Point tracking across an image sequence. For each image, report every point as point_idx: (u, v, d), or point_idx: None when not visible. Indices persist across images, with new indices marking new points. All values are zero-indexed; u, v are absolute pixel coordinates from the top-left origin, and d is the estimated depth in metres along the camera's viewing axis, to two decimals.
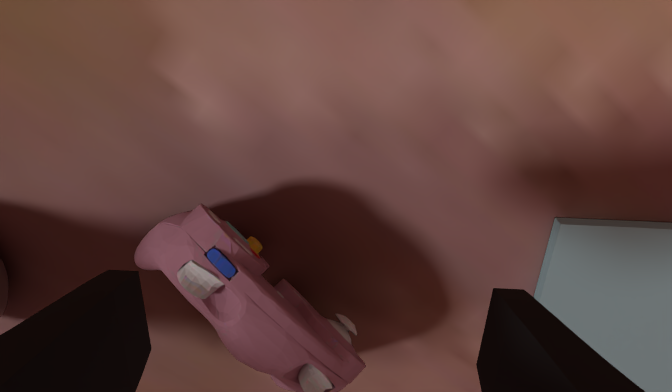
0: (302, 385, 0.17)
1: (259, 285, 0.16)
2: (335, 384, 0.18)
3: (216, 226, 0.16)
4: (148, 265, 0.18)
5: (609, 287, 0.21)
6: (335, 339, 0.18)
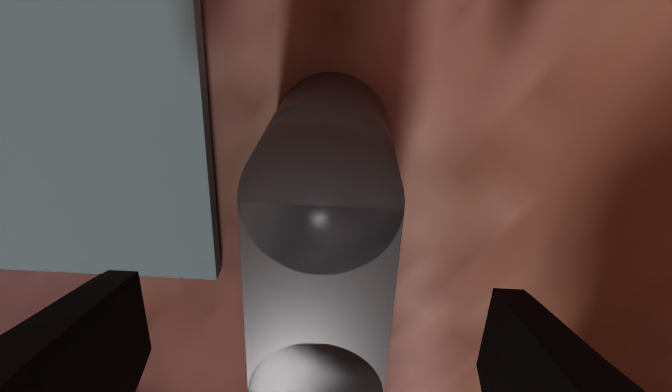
0: None
1: None
2: None
3: None
4: None
5: None
6: None
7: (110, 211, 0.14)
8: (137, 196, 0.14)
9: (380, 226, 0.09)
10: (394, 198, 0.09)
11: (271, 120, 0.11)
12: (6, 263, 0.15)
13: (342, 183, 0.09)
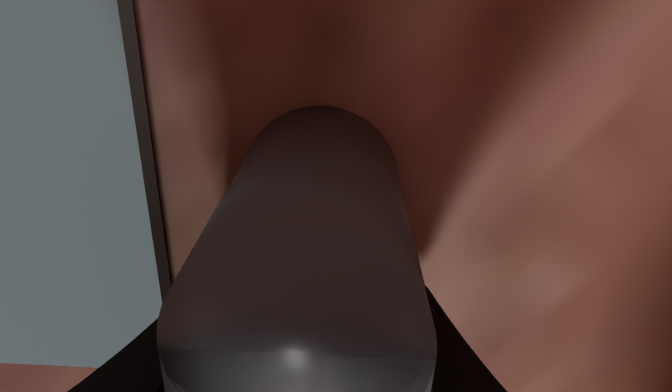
0: None
1: None
2: None
3: None
4: None
5: None
6: None
7: (25, 288, 0.11)
8: (60, 270, 0.10)
9: (395, 383, 0.06)
10: (420, 344, 0.05)
11: (227, 188, 0.07)
12: None
13: (332, 322, 0.05)
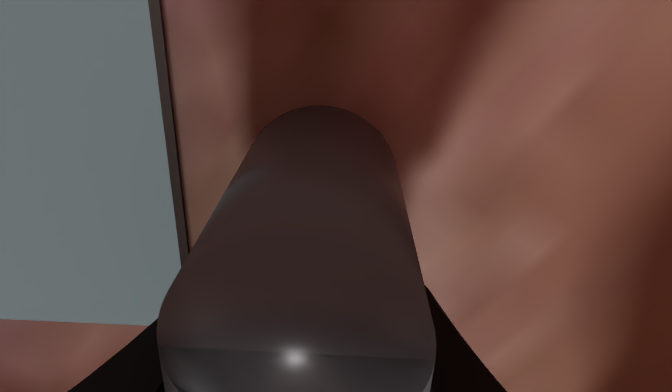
0: None
1: None
2: None
3: None
4: None
5: None
6: None
7: (59, 251, 0.12)
8: (90, 233, 0.12)
9: (395, 382, 0.06)
10: (419, 343, 0.05)
11: (227, 188, 0.07)
12: None
13: (331, 321, 0.05)
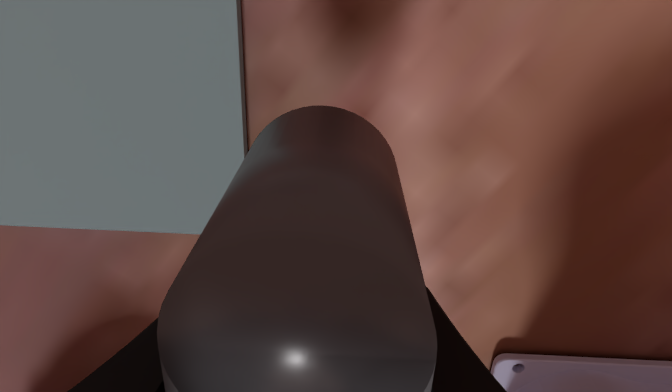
0: None
1: None
2: None
3: None
4: None
5: (22, 158, 0.17)
6: None
7: (161, 177, 0.17)
8: (184, 164, 0.17)
9: (396, 383, 0.06)
10: (420, 343, 0.05)
11: (228, 188, 0.07)
12: (71, 223, 0.18)
13: (332, 321, 0.05)
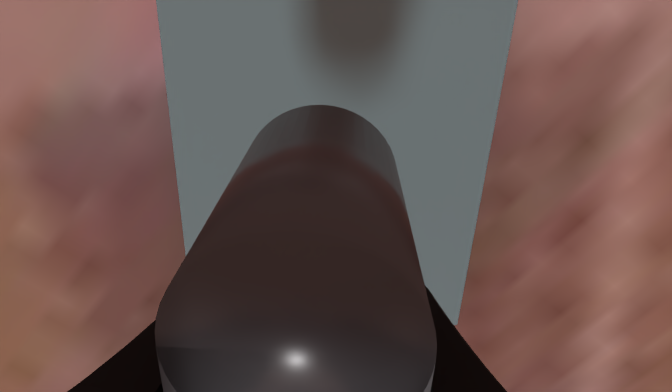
0: None
1: None
2: None
3: None
4: None
5: None
6: None
7: None
8: None
9: (395, 383, 0.06)
10: (419, 343, 0.05)
11: (226, 187, 0.07)
12: None
13: (331, 321, 0.05)
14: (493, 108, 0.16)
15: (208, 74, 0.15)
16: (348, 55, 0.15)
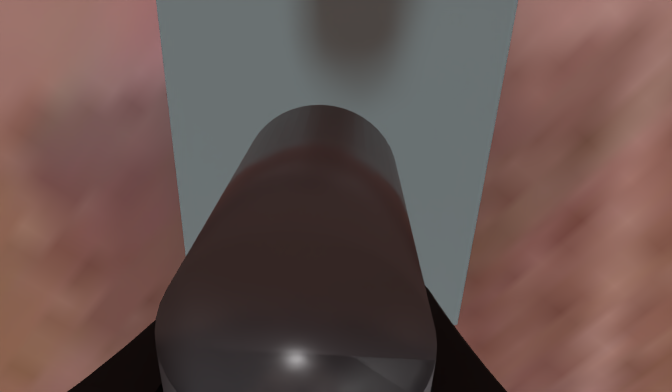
0: None
1: None
2: None
3: None
4: None
5: None
6: None
7: None
8: None
9: (395, 383, 0.06)
10: (419, 343, 0.05)
11: (226, 187, 0.07)
12: None
13: (331, 321, 0.05)
14: (493, 108, 0.16)
15: (208, 74, 0.15)
16: (348, 55, 0.15)
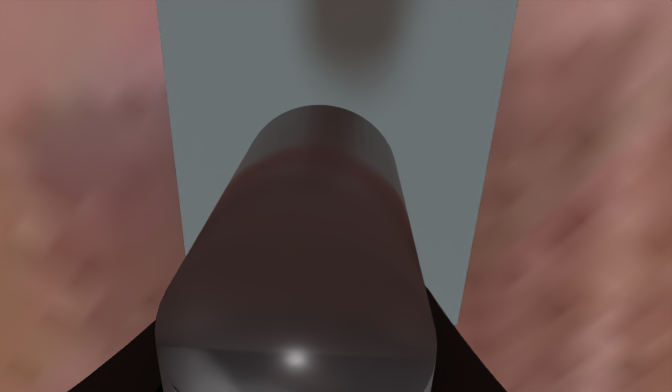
0: None
1: None
2: None
3: None
4: None
5: None
6: None
7: None
8: None
9: (395, 383, 0.06)
10: (419, 343, 0.05)
11: (226, 187, 0.07)
12: None
13: (331, 321, 0.05)
14: (493, 108, 0.16)
15: (208, 74, 0.15)
16: (348, 55, 0.15)
